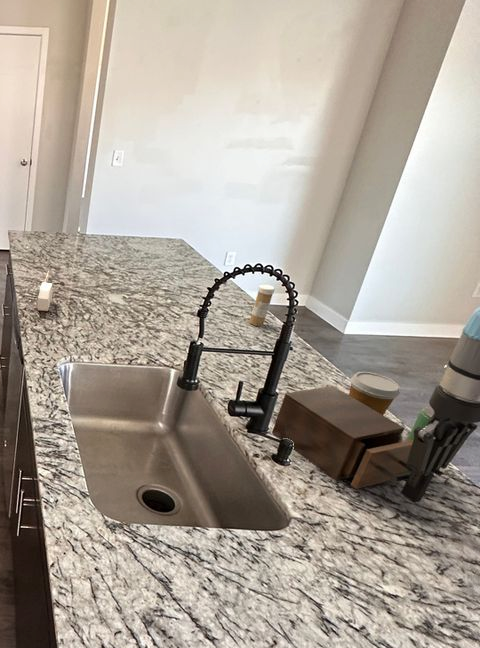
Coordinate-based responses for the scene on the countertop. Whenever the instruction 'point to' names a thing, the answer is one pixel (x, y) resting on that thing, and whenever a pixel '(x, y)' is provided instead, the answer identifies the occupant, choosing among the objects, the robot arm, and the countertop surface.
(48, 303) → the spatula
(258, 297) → the sprinkles bottle
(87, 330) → the countertop surface
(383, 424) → the cabinet
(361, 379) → the disposable coffee cup
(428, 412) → the green can
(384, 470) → the drawer
